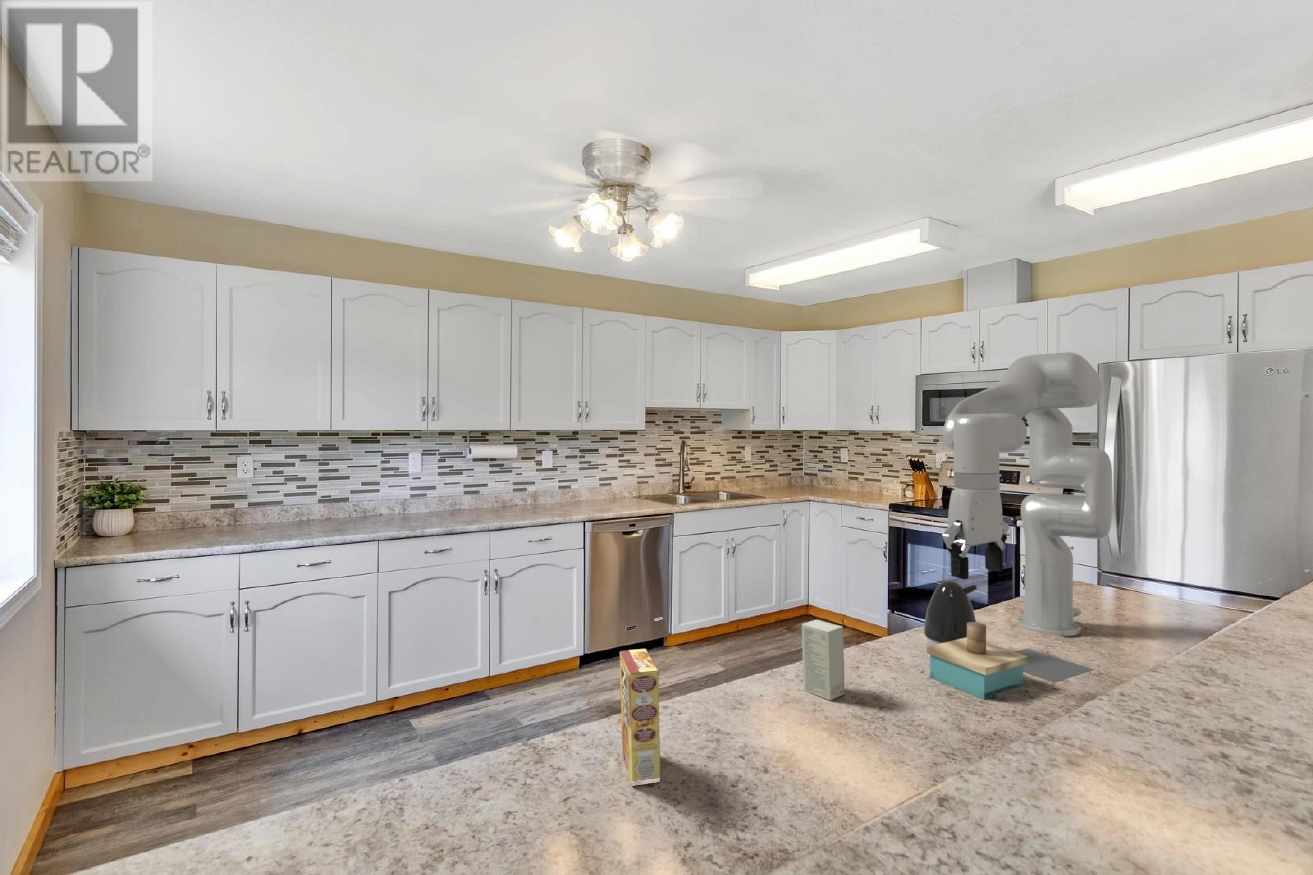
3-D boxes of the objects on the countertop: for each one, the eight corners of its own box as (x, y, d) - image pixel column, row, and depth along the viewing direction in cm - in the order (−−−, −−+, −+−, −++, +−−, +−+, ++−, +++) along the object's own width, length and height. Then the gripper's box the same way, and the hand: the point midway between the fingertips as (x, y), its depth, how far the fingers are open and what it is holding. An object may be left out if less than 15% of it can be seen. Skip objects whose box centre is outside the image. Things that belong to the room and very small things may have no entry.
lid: (968, 642, 124) (968, 611, 124) (1028, 662, 114) (1028, 628, 114) (926, 653, 119) (926, 620, 119) (985, 675, 108) (985, 639, 108)
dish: (968, 666, 124) (968, 644, 124) (1023, 687, 114) (1023, 662, 114) (930, 677, 119) (930, 653, 119) (984, 699, 109) (984, 673, 109)
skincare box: (845, 695, 111) (845, 626, 111) (829, 701, 108) (829, 631, 108) (816, 683, 116) (816, 618, 116) (801, 689, 113) (800, 623, 113)
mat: (1027, 650, 133) (1027, 648, 133) (1093, 671, 121) (1093, 669, 121) (987, 661, 127) (987, 659, 127) (1053, 684, 115) (1053, 682, 115)
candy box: (661, 784, 84) (661, 670, 83) (630, 788, 83) (629, 673, 83) (647, 750, 92) (647, 647, 92) (619, 754, 91) (618, 649, 91)
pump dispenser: (988, 662, 126) (988, 587, 126) (936, 662, 126) (936, 587, 126) (964, 645, 136) (964, 575, 136) (916, 644, 136) (916, 575, 136)
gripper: (987, 477, 123) (988, 563, 124) (927, 483, 115) (928, 576, 116) (1025, 480, 117) (1025, 571, 117) (963, 487, 109) (964, 585, 109)
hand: (977, 573), depth 116 cm, fingers open, 9 cm apart
